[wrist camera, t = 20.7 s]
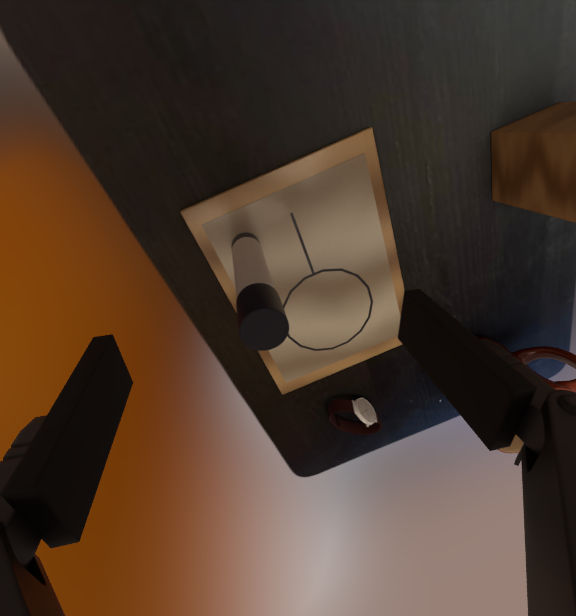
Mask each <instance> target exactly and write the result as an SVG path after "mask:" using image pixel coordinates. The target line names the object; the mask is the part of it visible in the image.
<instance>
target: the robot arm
mask: <svg viewBox="0 0 576 616" xmlns="http://www.w3.org/2000/svg"><path fill="white" fill-rule="evenodd" d="M398 339H399V341H400V342H401V343H402V344H403V345H404V347H405V348H406V349H407V350H408V352H409V353H410V354H411V355H412V356H413V358H414V359H415V360H416V361H417V363H418V364H419V365H420V366H421V367H422V369H423V370H424V371H425V372H426V373H427V375H428V376H429V377H430V378H431V380H432V381H433V382H434V383H435V384H436V386H437V387H438V388H439V389H440V391H441V392H442V393H443V394H444V395H445V397H446V398H447V399H448V400H449V402H450V403H451V404H452V405H453V406H454V408H455V409H456V410H457V411H458V413H459V414H460V415H461V416H462V417H463V419H464V420H465V421H466V422H467V424H468V425H469V426H470V427H471V428H472V429H473V431H474V432H475V433H476V434H477V436H478V437H479V438H480V439H481V441H483V443H484V444H485V445H486V447H487V448H488V449H489V450H490V451H491V450H496V449H501V448H505V447H510V446H511V444H512V441H513V439H514V437H515V435H517V436H518V437H519V438H520V439H521V440H522V441H523V442H524V443H523V446H522V448H521V450H520V452H519V454H518V456H517V458H516V460H515V463H514V464H515V465H517V466H518V465H519V463H520V461H521V460H522V481H523V505H524V528H525V548H526V549H525V551H526V572H527V597H528V616H576V393H575V392H572V391H568V390H562V389H559V390H556V389H554V388H553V387H552V386H551V385H549V384H548V383H547V382H546V381H544V380H543V379H542V378H541V377H539V376H538V375H537V374H536V373H534V372H533V371H532V370H531V369H529V368H528V367H527V366H526V365H524V364H523V363H520V361H519V360H518V359H517V358H516V357H514V356H511V353H509V352H508V351H507V350H505V349H504V348H503V347H502V346H500V345H499V344H497V343H495V342H492V341H490V340H488V339H486V338H485V339H479V338H477V337H476V336H475V335H474V334H473V333H471V332H470V331H469V330H468V329H467V328H465V327H464V326H463V325H462V324H461V323H459V322H458V321H457V320H456V319H455V318H454V317H452V316H451V315H450V314H449V313H448V312H446V311H445V310H444V309H443V308H442V307H440V306H439V305H438V304H437V303H436V302H434V301H433V300H432V299H431V298H430V297H428V296H427V295H426V294H425V293H424V292H422V291H421V290H420V289H415V290H408V291H404V296H403V303H402V311H401V318H400V325H399V332H398ZM132 384H133V381H132V379H131V376H130V374H129V372H128V369H127V367H126V365H125V362H124V360H123V358H122V355H121V353H120V351H119V348H118V346H117V343H116V341H115V339H114V336H113V335H105V336H99V337H93V339H92V341H91V342H90V344H89V346H88V348H87V349H86V351H85V352H84V354H83V356H82V358H81V359H80V361H79V363H78V364H77V366H76V368H75V369H74V371H73V373H72V374H71V376H70V378H69V379H68V381H67V383H66V385H65V386H64V388H63V389H62V391H61V393H60V394H59V396H58V398H57V400H56V401H55V403H54V405H53V406H52V408H51V410H50V412H49V413H48V415H47V416H41V417H35V418H34V419H33V420H32V421H31V422H30V423H29V424H28V425H27V426H26V427H25V428H23V429H22V430H21V431H20V433H19V434H18V436H17V437H16V439H15V440H14V442H13V444H12V445H11V449H9V450H8V451H7V453H6V454H5V456H4V457H3V461H1V462H0V616H65V614H64V612H63V610H62V608H61V605H60V603H59V601H58V599H57V596H56V594H55V592H54V590H53V588H52V586H51V583H50V582H49V579H48V576H47V574H46V572H45V570H44V568H43V565H42V563H41V561H40V559H39V558H38V557H37V556H36V555H35V552H36V550H37V547H38V545H39V543H40V540H41V538H42V539H43V541H44V542H46V544H47V545H48V546H49V547H50V548H54V547H58V546H62V545H68V544H72V543H76V542H79V541H80V538H81V535H82V532H83V529H84V526H85V523H86V520H87V517H88V514H89V511H90V508H91V506H92V503H93V500H94V497H95V494H96V491H97V488H98V485H99V482H100V479H101V476H102V473H103V470H104V467H105V464H106V461H107V458H108V455H109V452H110V449H111V446H112V443H113V440H114V437H115V435H116V431H117V429H118V426H119V422H120V420H121V417H122V414H123V411H124V408H125V405H126V402H127V399H128V396H129V393H130V390H131V387H132Z"/></svg>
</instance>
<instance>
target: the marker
mask: <svg viewBox="0 0 576 616" xmlns="http://www.w3.org/2000/svg"><path fill="white" fill-rule="evenodd" d="M231 248H232V258H233V268H234V278H235V288H236V298H237V300H236V307H237V318H238V328H239V336H240V339H241V340H242V342H243V343H244V344H245V345H246V346H247V347H249V348H251V349H253V350H257V351H267V350H271V349H274V348H276V347H278V346H279V345H281V344H282V343H283V342H284V341H285V339H286V338H287V336H288V333H289V322H288V319H287V316H286V313H285V311H284V308H283V305H282V302H281V299H280V297H279V294H278V292H277V291H276V288H275V285H274V282H273V279H272V276H271V273H270V271H269V268H268V265H267V262H266V259H265V256H264V253H263V251H262V248H261V245H260V242H259V240H258V238H257V237H256V236H255V235H253V234H251V233H247V232H245V233H240V234H238V235H237V236H236V237H235V238H234V239H233V241H232V245H231Z"/></svg>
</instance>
